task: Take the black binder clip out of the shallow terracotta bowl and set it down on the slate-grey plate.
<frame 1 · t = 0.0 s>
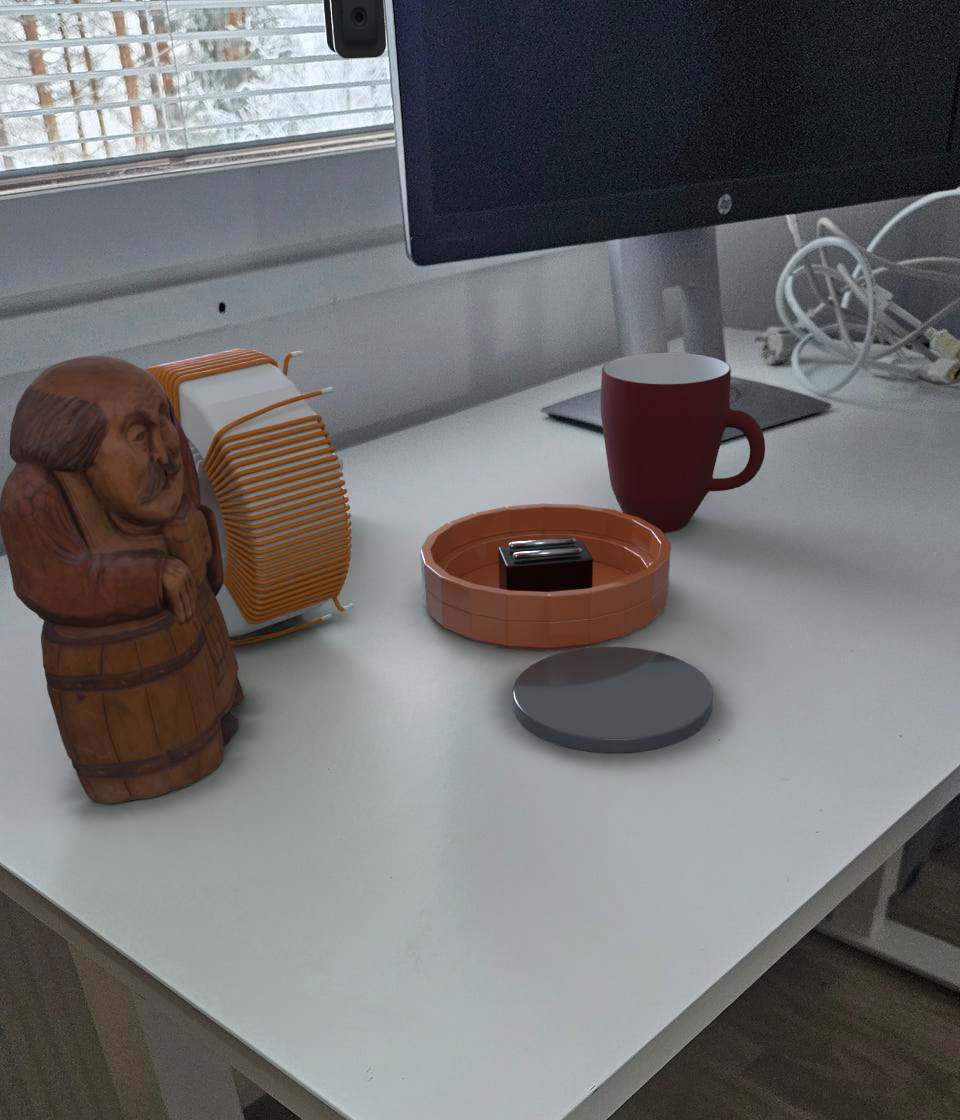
hand: (355, 54, 56), 27 cm above the table, tool pointing down, fingers open, 8 cm apart
plate: (611, 703, 62), on the table
clip: (545, 594, 72), resting on bowl
bowl: (545, 602, 73), on the table
wooden figurine: (170, 750, 60), on the table
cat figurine: (257, 539, 83), on the table
mug: (676, 526, 83), on the table
coil: (255, 624, 72), on the table
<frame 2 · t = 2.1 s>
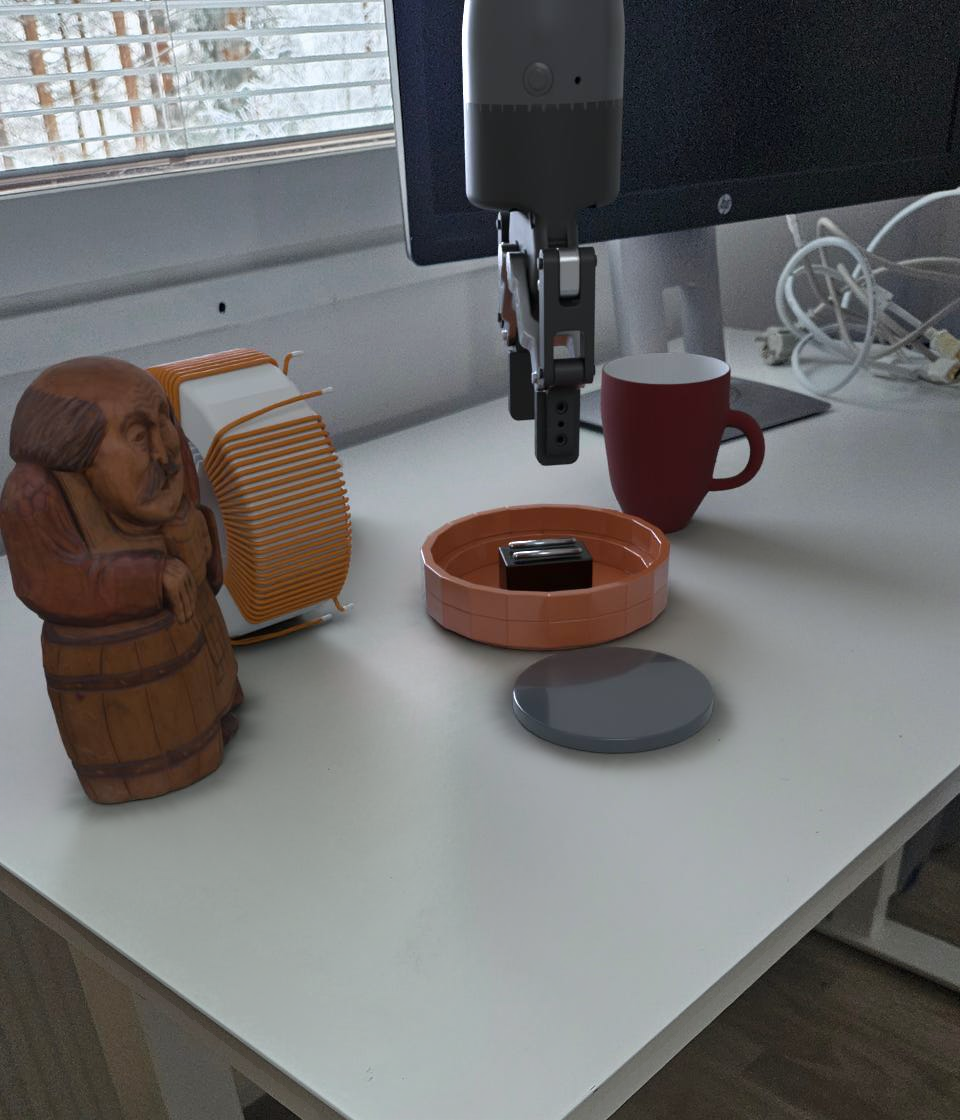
hand: (541, 439, 67), 10 cm above the table, tool pointing down, fingers open, 8 cm apart
nothing on the table moved.
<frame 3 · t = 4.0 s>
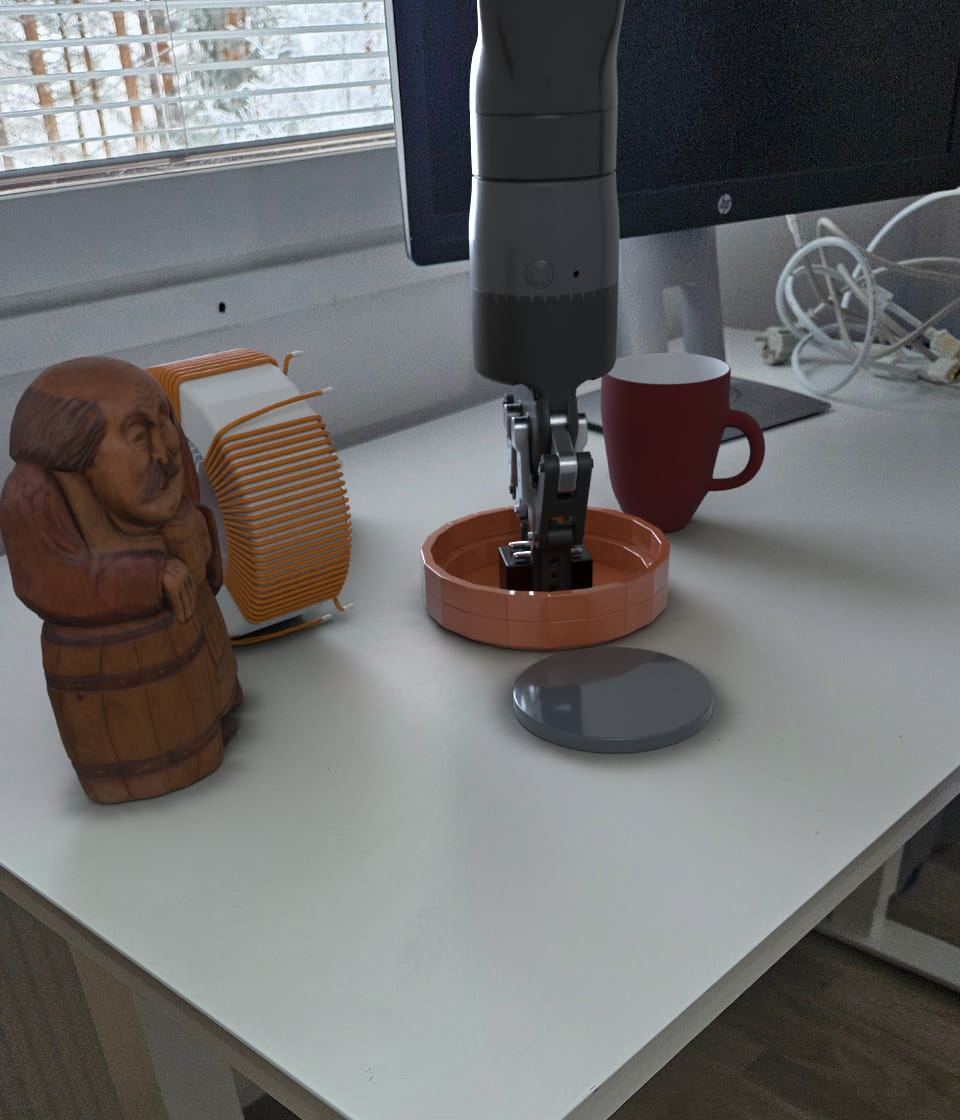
hand: (545, 592, 72), 1 cm above the table, tool pointing down, fingers closed on clip, 3 cm apart
clip: (545, 595, 72), point 1 cm above the table, touching bowl, gripper
everything else where it was.
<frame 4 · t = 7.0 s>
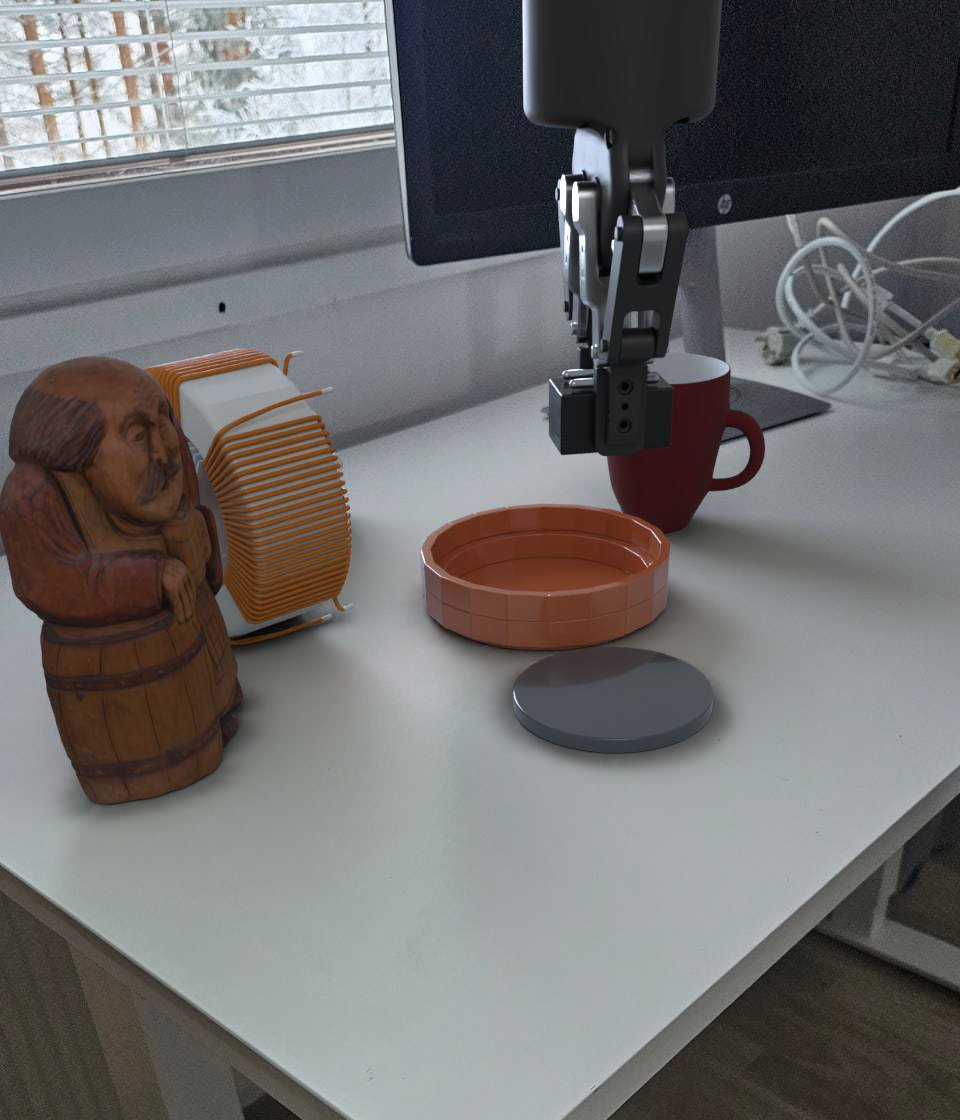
hand: (609, 439, 56), 13 cm above the table, tool pointing down, fingers closed on clip, 3 cm apart
clip: (608, 442, 56), point 13 cm above the table, touching gripper
everything else where it was.
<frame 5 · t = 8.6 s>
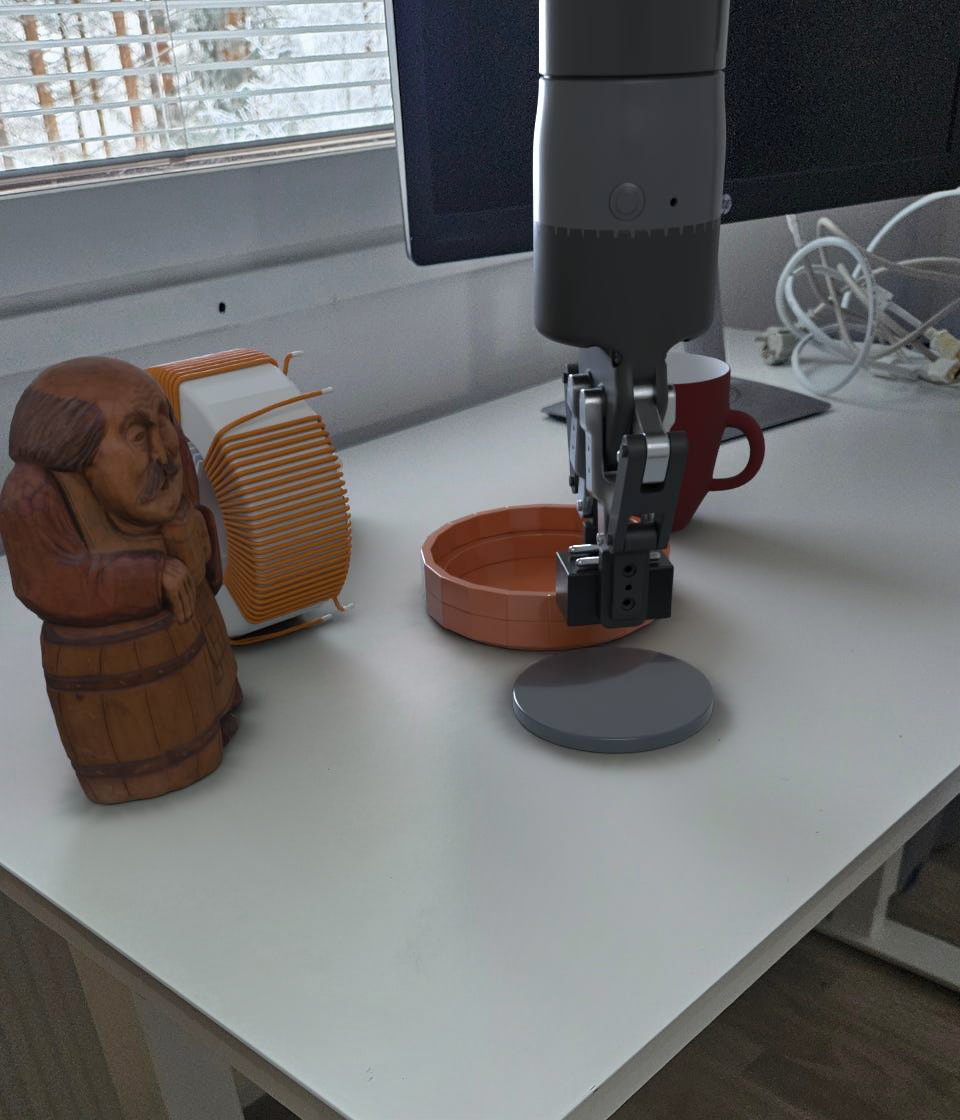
hand: (612, 607, 59), 5 cm above the table, tool pointing down, fingers closed on clip, 3 cm apart
clip: (612, 610, 59), point 5 cm above the table, touching gripper
everything else where it was.
when the fingers open (1 cm above the table, at t = 10.0 s): clip stays where it is, resting on plate.
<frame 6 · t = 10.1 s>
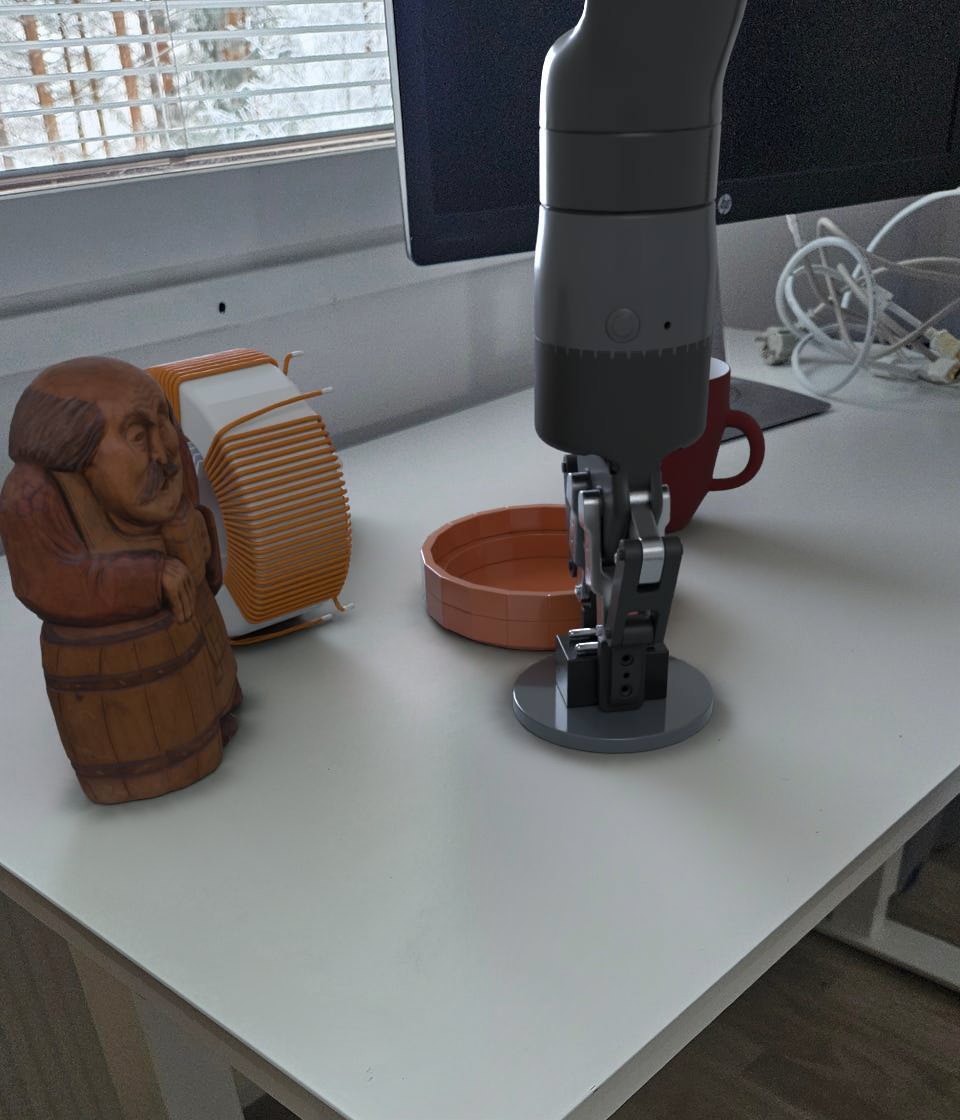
hand: (610, 688, 62), 1 cm above the table, tool pointing down, fingers open, 3 cm apart
clip: (610, 689, 62), point 1 cm above the table, touching plate
everything else where it was.
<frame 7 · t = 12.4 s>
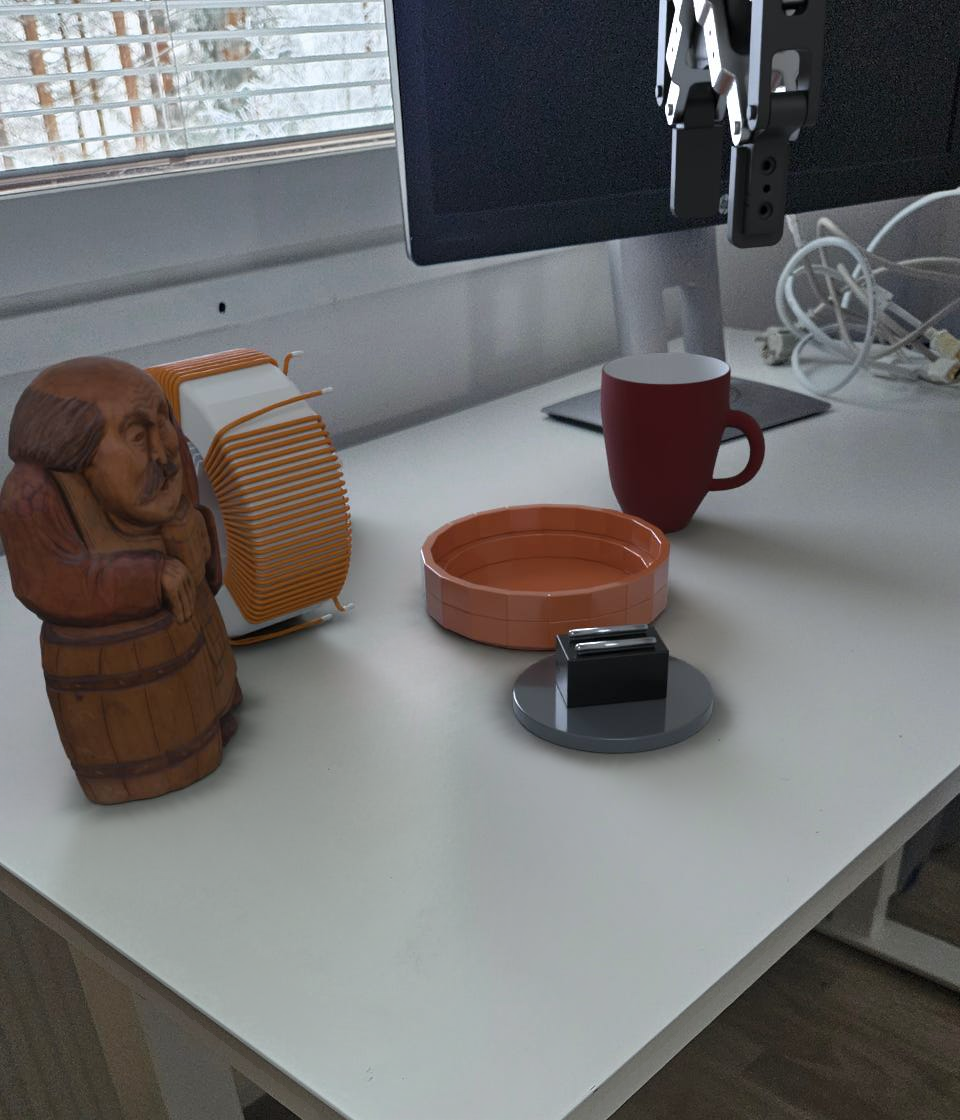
hand: (722, 230, 55), 21 cm above the table, tool pointing down, fingers open, 8 cm apart
nothing on the table moved.
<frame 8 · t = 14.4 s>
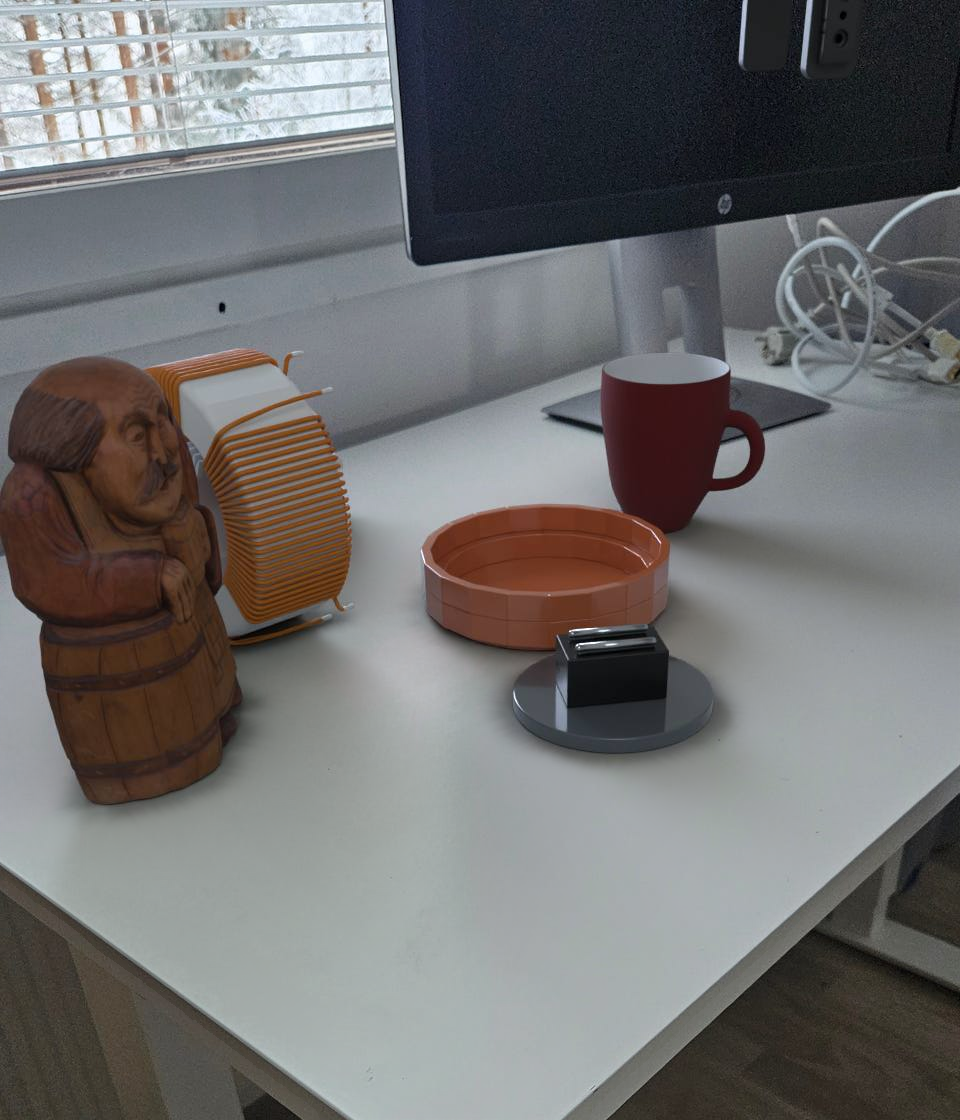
hand: (792, 74, 56), 26 cm above the table, tool pointing down, fingers open, 8 cm apart
nothing on the table moved.
at the end: clip inside the target area on the plate (0.1 cm from its centre), point 0.8 cm above the plate's base; the gripper is holding nothing; clip tilted 0° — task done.
